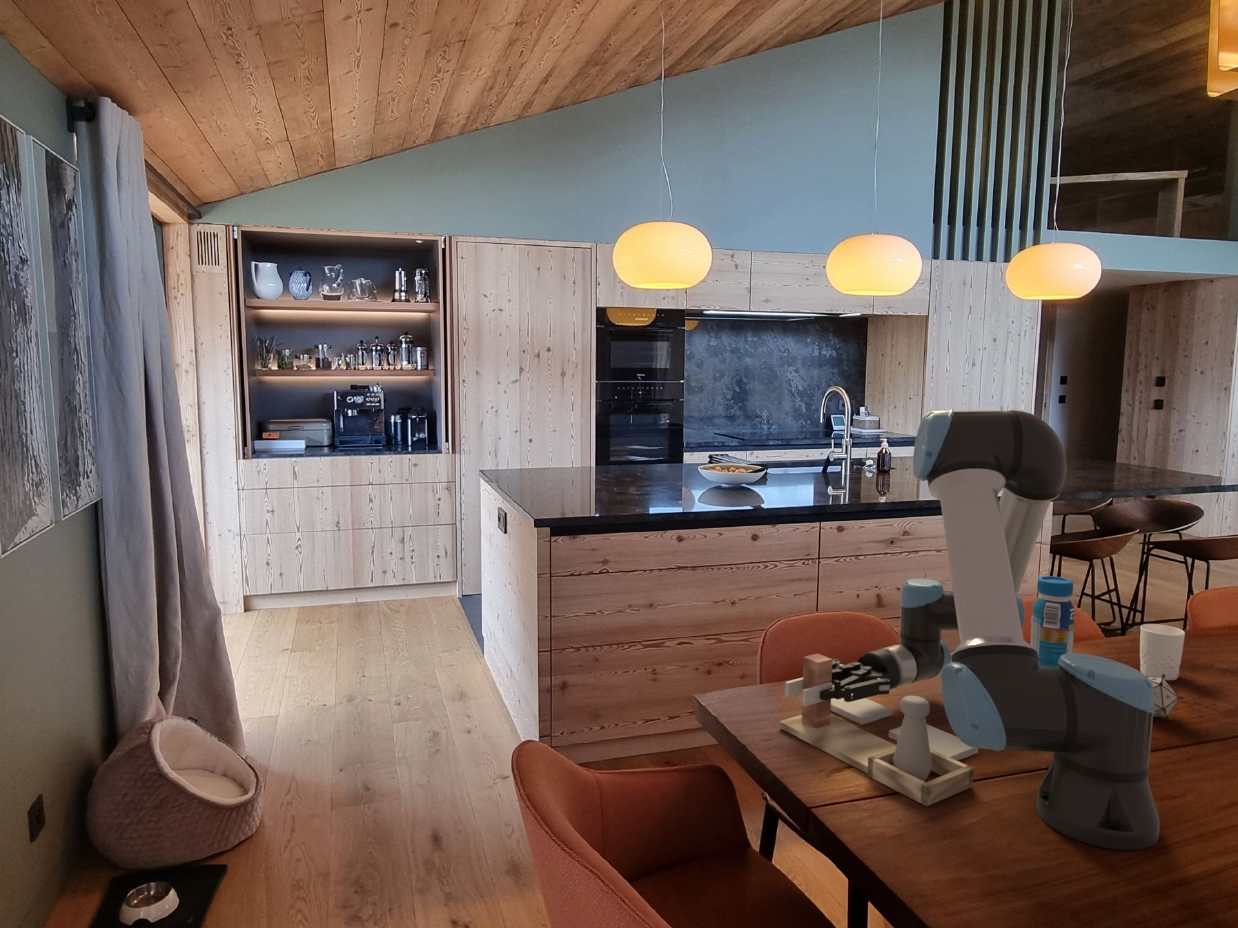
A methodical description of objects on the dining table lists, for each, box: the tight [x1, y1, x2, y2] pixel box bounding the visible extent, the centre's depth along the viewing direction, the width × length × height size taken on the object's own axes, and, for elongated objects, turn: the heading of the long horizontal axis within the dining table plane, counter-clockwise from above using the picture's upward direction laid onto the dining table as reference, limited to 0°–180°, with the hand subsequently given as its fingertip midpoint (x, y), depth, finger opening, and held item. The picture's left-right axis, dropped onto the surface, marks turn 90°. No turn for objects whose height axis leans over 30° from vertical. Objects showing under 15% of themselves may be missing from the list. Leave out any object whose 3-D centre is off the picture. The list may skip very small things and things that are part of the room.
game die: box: [1147, 674, 1185, 722], centre depth 153 cm, size 9×8×10 cm
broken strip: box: [831, 685, 979, 761], centre depth 149 cm, size 32×8×1 cm, turn 32°
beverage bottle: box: [1029, 575, 1076, 667], centre depth 177 cm, size 8×8×20 cm
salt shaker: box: [893, 695, 932, 782], centre depth 129 cm, size 6×6×13 cm
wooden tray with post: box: [778, 653, 974, 807], centre depth 136 cm, size 32×11×13 cm, turn 32°
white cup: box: [1139, 623, 1186, 681], centre depth 174 cm, size 8×8×10 cm
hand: (795, 693), depth 143 cm, fingers closed on wooden tray with post, 3 cm apart
